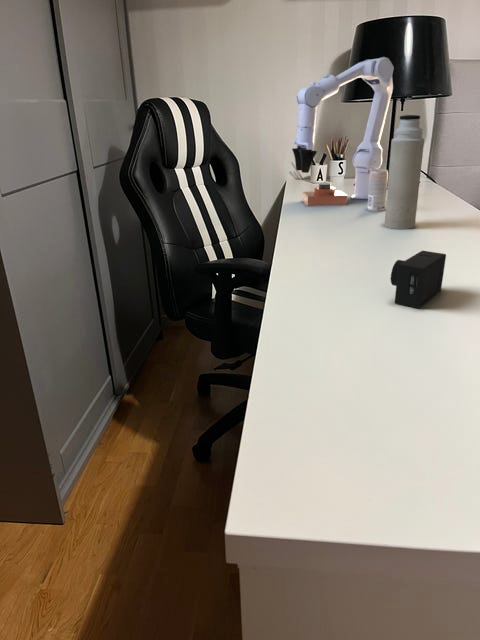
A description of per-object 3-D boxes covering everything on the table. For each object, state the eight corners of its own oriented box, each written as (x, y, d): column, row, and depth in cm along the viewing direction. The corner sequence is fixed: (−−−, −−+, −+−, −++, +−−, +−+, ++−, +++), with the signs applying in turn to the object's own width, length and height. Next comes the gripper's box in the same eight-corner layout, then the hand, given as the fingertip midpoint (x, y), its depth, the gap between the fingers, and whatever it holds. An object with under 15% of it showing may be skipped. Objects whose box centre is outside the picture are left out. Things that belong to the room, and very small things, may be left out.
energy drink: (383, 208, 160) (386, 169, 155) (386, 211, 155) (389, 171, 150) (366, 208, 160) (369, 169, 155) (368, 211, 155) (371, 171, 151)
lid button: (329, 188, 171) (329, 182, 170) (331, 189, 167) (332, 184, 166) (317, 188, 170) (317, 183, 170) (320, 190, 167) (320, 184, 166)
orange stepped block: (339, 199, 175) (340, 185, 173) (346, 204, 166) (347, 189, 164) (302, 201, 175) (303, 186, 173) (307, 206, 166) (308, 191, 164)
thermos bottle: (413, 222, 139) (424, 114, 128) (416, 229, 132) (429, 115, 121) (383, 222, 141) (392, 115, 130) (385, 228, 134) (395, 115, 123)
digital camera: (411, 285, 92) (415, 248, 90) (441, 291, 89) (446, 253, 86) (387, 302, 85) (391, 262, 82) (418, 309, 82) (424, 268, 79)
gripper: (289, 126, 167) (285, 168, 172) (299, 127, 154) (295, 173, 159) (309, 127, 168) (305, 169, 173) (321, 128, 155) (317, 173, 160)
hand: (302, 171), depth 166 cm, fingers open, 7 cm apart
